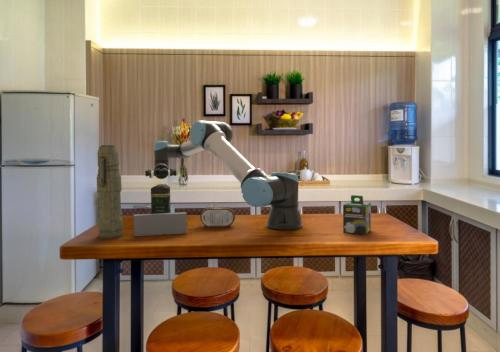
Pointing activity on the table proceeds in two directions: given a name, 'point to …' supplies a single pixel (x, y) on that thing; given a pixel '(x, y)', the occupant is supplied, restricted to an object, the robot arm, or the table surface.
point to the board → (160, 224)
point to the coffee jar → (160, 199)
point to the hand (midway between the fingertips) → (160, 174)
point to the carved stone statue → (109, 192)
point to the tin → (217, 216)
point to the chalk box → (357, 216)
